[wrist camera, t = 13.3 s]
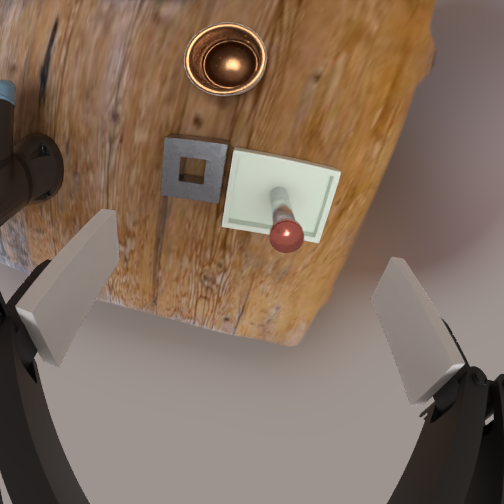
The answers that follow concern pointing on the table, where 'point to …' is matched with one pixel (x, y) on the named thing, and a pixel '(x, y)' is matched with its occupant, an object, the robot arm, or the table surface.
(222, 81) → the planter
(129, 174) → the table surface
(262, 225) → the tray
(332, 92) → the table surface
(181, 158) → the block
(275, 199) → the red capped tube
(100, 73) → the table surface
